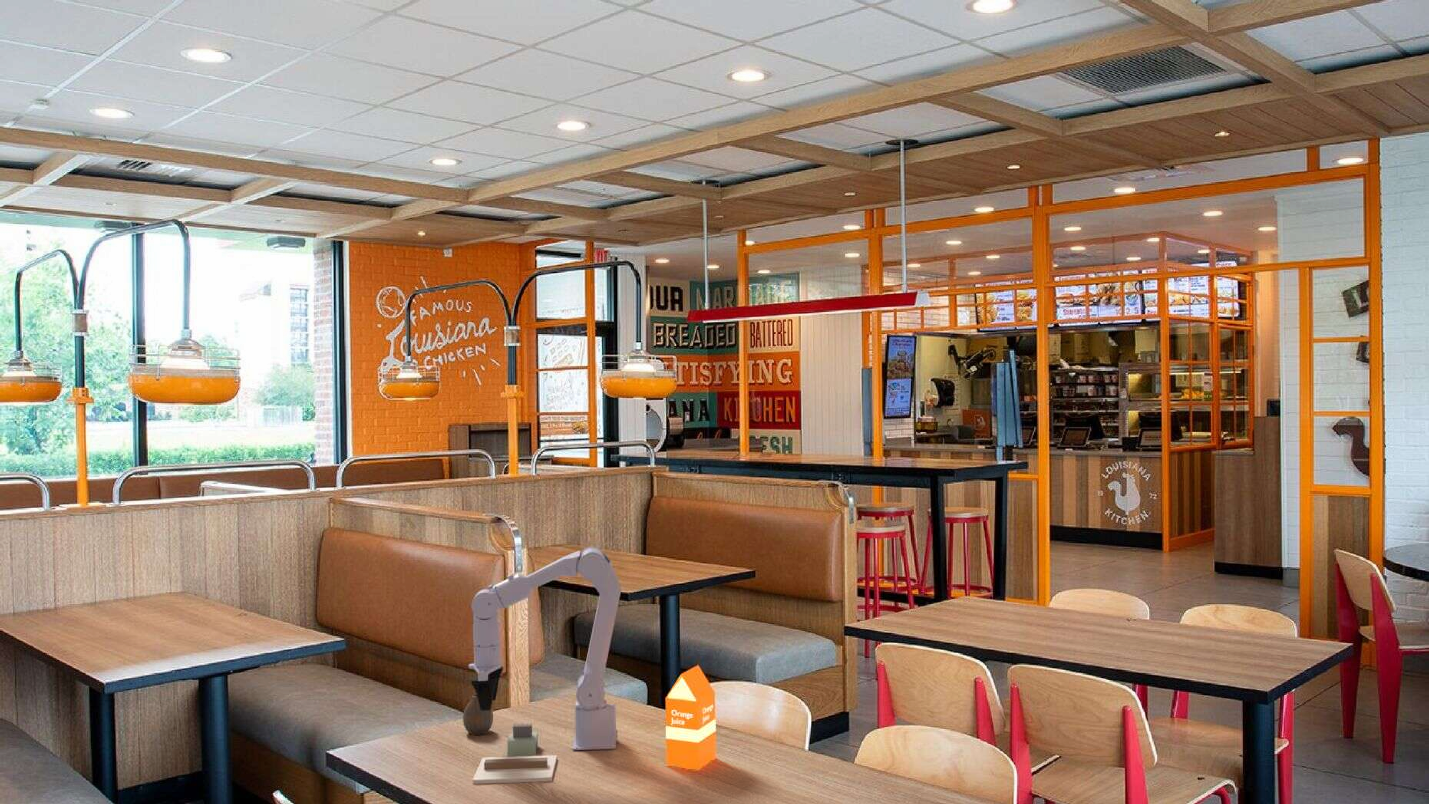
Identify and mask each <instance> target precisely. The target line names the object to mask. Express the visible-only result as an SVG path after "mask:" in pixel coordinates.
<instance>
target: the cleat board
mask: <svg viewBox="0 0 1429 804" xmlns="http://www.w3.org/2000/svg"><path fill="white" fill-rule="evenodd" d="M557 760H558V755H557V754H554V755H533V756H491V757H490V756H489V757H482V758H481V761H480V763H479V765H478V767H477V769H476V772H475V774H474V776H473V778H472V784H474V785H476V784H477V785H478V784H479V785H481V784H506V783H508V784H509V783H512V784H513V783H540V782H543V783H544V782H553V777H554V773H555V770H556V769H555V768H556V765H557Z"/></svg>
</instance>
